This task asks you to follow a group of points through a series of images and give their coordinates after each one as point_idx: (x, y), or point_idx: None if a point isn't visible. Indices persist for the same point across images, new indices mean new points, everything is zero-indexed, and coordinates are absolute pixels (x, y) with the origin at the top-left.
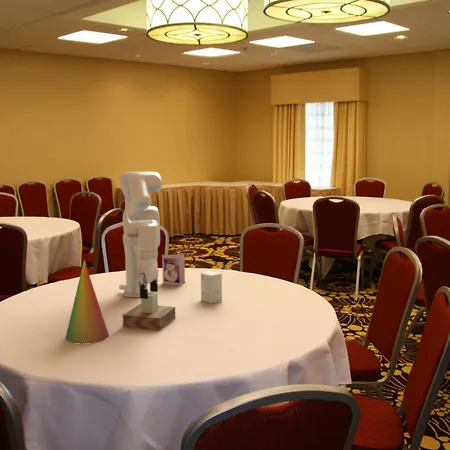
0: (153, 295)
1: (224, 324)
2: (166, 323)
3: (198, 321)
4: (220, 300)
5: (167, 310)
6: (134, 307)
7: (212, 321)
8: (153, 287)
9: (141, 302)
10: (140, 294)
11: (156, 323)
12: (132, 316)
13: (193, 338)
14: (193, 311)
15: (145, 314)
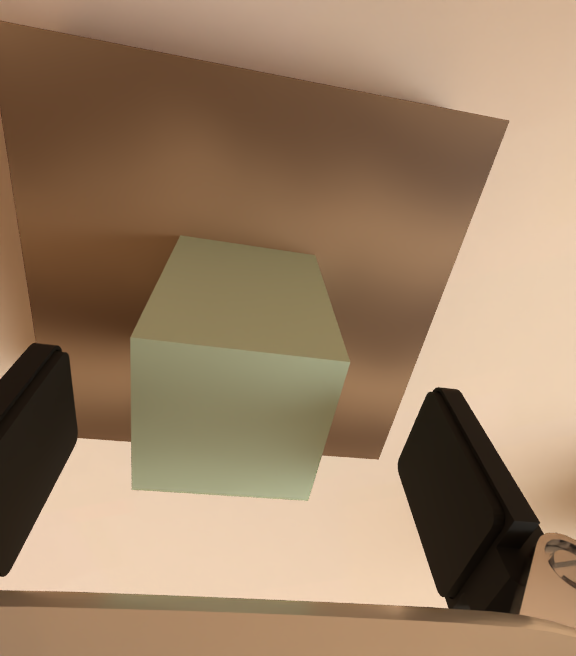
0: (175, 491)
1: (278, 589)
2: None
3: (312, 504)
4: None
5: None
6: (353, 90)
7: (318, 550)
8: (434, 486)
9: (156, 287)
10: (1, 389)
11: None
12: (15, 172)
13: (35, 534)
14: (504, 452)
15: (111, 299)
